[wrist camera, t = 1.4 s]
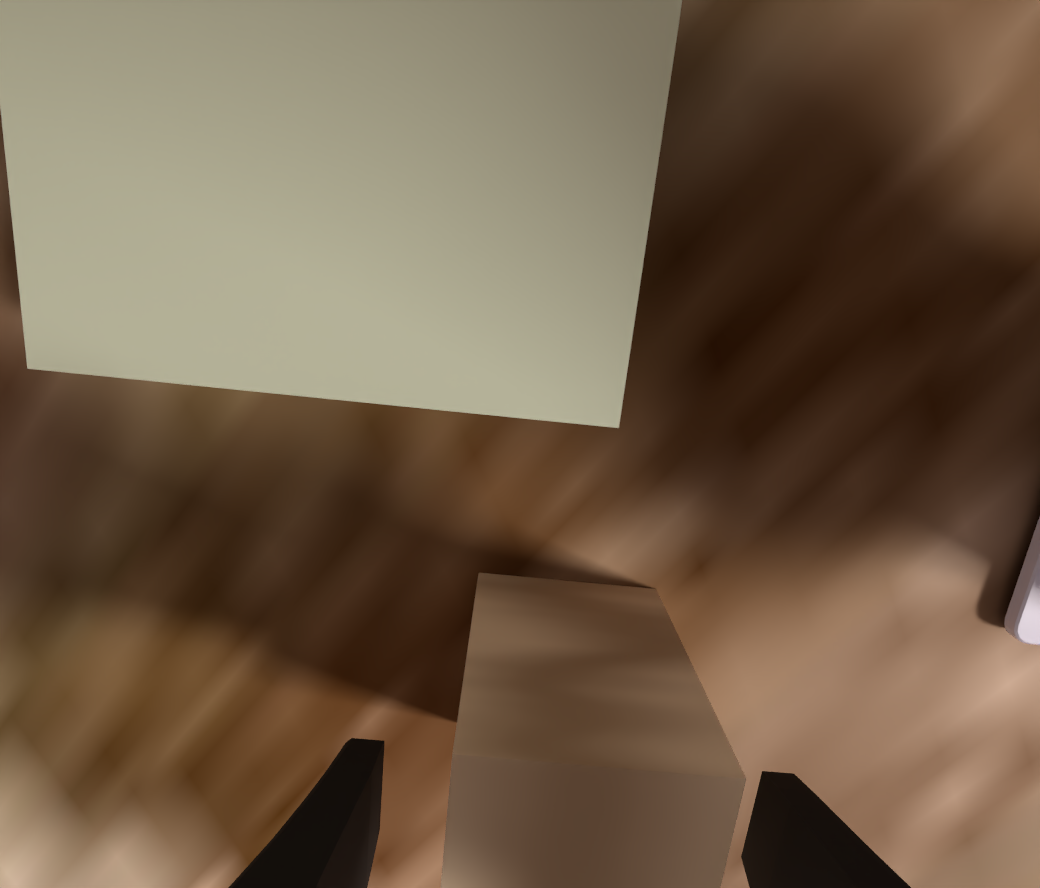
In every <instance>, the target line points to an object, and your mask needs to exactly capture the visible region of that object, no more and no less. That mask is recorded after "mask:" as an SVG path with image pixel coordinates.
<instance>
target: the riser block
mask: <svg viewBox="0 0 1040 888" xmlns="http://www.w3.org/2000/svg"><path fill="white" fill-rule="evenodd" d="M681 6H682V0H0V109H1V119H2V129H3V138H4V148H5V158H6V167H7V177H8V187H9V196H10V206H11V215H12V225H13V235H14V244H15V254H16V264H17V273H18V283H19V293H20V302H21V312H22V322H23V331H24V341H25V351H26V360H27V369H36V370H46V371H56V372H66V373H76V374H86V375H96V376H106V377H116V378H126V379H136V380H146V381H156V382H166V383H176V384H186V385H196V386H205V387H215V388H225V389H235V390H245V391H255V392H265V393H275V394H285V395H295V396H305V397H315V398H325V399H335V400H345V401H355V402H365V403H375V404H384V405H394V406H404V407H414V408H424V409H434V410H444V411H454V412H464V413H474V414H484V415H494V416H504V417H514V418H524V419H534V420H544V421H554V422H564V423H573V424H583V425H593V426H603V427H613V428H619V423H620V417H621V410H622V403H623V397H624V390H625V383H626V376H627V370H628V363H629V356H630V349H631V343H632V336H633V329H634V322H635V316H636V309H637V302H638V295H639V289H640V282H641V275H642V269H643V262H644V255H645V248H646V242H647V235H648V228H649V221H650V215H651V208H652V201H653V194H654V188H655V181H656V174H657V167H658V161H659V154H660V147H661V140H662V134H663V127H664V120H665V114H666V107H667V100H668V93H669V87H670V80H671V73H672V66H673V60H674V53H675V46H676V39H677V33H678V26H679V19H680V12H681Z"/></svg>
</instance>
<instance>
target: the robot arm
mask: <svg viewBox="0 0 1040 888" xmlns="http://www.w3.org/2000/svg"><path fill="white" fill-rule="evenodd" d="M1004 626H1005V628H1006V631H1007V632H1008V633H1010V634H1011V635H1012V636H1013V637H1015V638H1016V639H1018V640H1019V641H1021V642H1023V643H1027V644H1035V645H1040V517H1039V520H1038V523H1037V526H1036V529H1035V531H1034V534H1033V537H1032V540H1031V543H1030V546H1029V549H1028V552H1027V555H1026V558H1025V561H1024V564H1023V566H1022V569H1021V572H1020V575H1019V578H1018V581H1017V584H1016V587H1015V590H1014V593H1013V596H1012V599H1011V601H1010V604H1009V607H1008V610H1007V613H1006V616H1005V621H1004ZM383 758H384V741H380V740H367V739H355V738H352V739H350V740H349V741H348V742H346V743H345V745H344V746H343V748H342V749H341V751H340V752H339V754H338V755H337V757H336V758H335V759H334V761H333V762H332V764H331V765H330V766H329V768H328V769H327V771H326V772H325V773H324V775H323V776H322V777H321V779H320V780H319V781H318V783H317V784H316V785H315V787H314V788H313V789H312V791H311V792H310V793H309V795H308V796H307V797H306V798H305V800H304V801H303V802H302V803H301V805H300V806H299V807H298V808H297V810H296V811H295V812H294V813H293V814H292V816H291V817H290V818H289V819H288V821H287V822H286V823H285V824H284V825H283V827H282V828H281V829H280V830H279V832H278V833H277V834H276V835H275V836H274V838H273V839H272V840H271V841H270V842H269V843H268V844H267V846H266V847H265V848H264V849H263V850H262V851H261V852H260V853H259V855H258V856H257V857H256V858H255V859H254V860H253V861H252V862H251V863H250V865H249V866H248V867H247V868H246V869H245V870H244V871H243V872H242V873H241V875H240V876H239V877H238V878H237V879H236V880H235V881H234V882H233V883H232V884H231V886H230V887H229V888H367V886H368V881H369V877H370V872H371V867H372V863H373V858H374V853H375V849H376V844H377V839H378V834H379V830H380V812H381V794H382V776H383ZM741 857H742V861H743V865H744V868H745V872H746V876H747V879H748V883H749V887H750V888H911V887H910V886H909V885H908V884H907V883H906V882H905V881H904V880H902V879H901V878H900V877H899V876H898V875H897V874H896V873H895V872H894V871H893V870H892V869H891V868H890V867H889V866H888V865H887V864H886V863H885V862H884V861H883V860H882V859H881V858H879V857H878V856H877V855H876V854H875V853H874V852H873V851H872V850H871V849H870V848H869V847H868V846H867V845H866V844H865V843H864V842H863V841H862V840H861V839H860V838H859V837H858V836H857V835H856V834H855V833H854V832H853V831H852V830H851V829H850V828H849V827H848V826H847V825H846V824H845V823H844V822H843V821H842V820H841V819H840V818H839V817H838V816H837V815H836V814H835V813H834V812H833V811H832V810H831V809H830V808H829V807H828V806H827V805H826V804H825V803H824V802H823V801H822V800H821V799H820V798H819V797H818V796H817V795H816V794H815V793H814V792H813V791H811V790H810V789H809V788H808V787H807V786H806V785H805V784H804V783H803V782H802V781H801V780H800V779H799V778H798V777H797V776H796V775H794V774H791V773H778V772H766V771H762V775H761V779H760V783H759V787H758V791H757V795H756V799H755V803H754V807H753V811H752V815H751V819H750V824H749V828H748V832H747V836H746V840H745V844H744V848H743V852H742V856H741Z"/></svg>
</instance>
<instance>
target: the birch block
mask: <svg viewBox="0 0 1040 888" xmlns="http://www.w3.org/2000/svg"><path fill="white" fill-rule="evenodd" d="M745 782H746V777H745V775H744V773H743V771H742V769H741V767H740V765H739V762H738V760H737V758H736V756H735V754H734V752H733V750H732V748H731V746H730V743H729V741H728V739H727V737H726V735H725V733H724V731H723V729H722V727H721V725H720V722H719V720H718V718H717V716H716V714H715V712H714V710H713V708H712V706H711V703H710V701H709V699H708V697H707V695H706V693H705V691H704V689H703V687H702V685H701V682H700V680H699V678H698V676H697V674H696V672H695V670H694V668H693V666H692V663H691V661H690V659H689V657H688V655H687V653H686V651H685V649H684V647H683V644H682V642H681V640H680V638H679V636H678V634H677V632H676V630H675V628H674V626H673V623H672V621H671V619H670V617H669V615H668V613H667V611H666V609H665V607H664V604H663V602H662V600H661V598H660V596H659V594H658V592H657V590H656V589H651V588H641V587H630V586H619V585H608V584H597V583H587V582H576V581H565V580H554V579H543V578H533V577H522V576H511V575H500V574H489V573H478V580H477V587H476V594H475V601H474V608H473V615H472V622H471V629H470V636H469V643H468V650H467V657H466V664H465V671H464V678H463V685H462V692H461V699H460V705H459V712H458V719H457V726H456V733H455V740H454V747H453V754H452V766H451V777H450V788H449V799H448V810H447V822H446V833H445V844H444V855H443V866H442V878H441V888H720V886H721V882H722V878H723V874H724V870H725V866H726V861H727V857H728V853H729V849H730V845H731V840H732V836H733V832H734V828H735V824H736V820H737V815H738V811H739V807H740V803H741V799H742V794H743V790H744V786H745Z"/></svg>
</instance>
